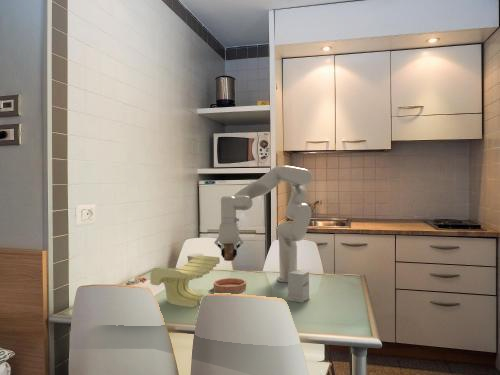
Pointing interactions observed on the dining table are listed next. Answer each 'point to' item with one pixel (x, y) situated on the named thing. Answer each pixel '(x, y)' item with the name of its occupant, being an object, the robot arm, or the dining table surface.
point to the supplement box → (298, 286)
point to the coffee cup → (193, 256)
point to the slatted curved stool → (183, 280)
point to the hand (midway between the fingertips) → (229, 256)
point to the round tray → (230, 285)
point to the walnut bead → (228, 252)
